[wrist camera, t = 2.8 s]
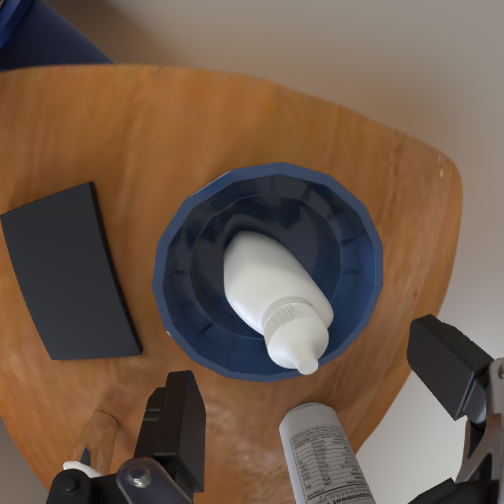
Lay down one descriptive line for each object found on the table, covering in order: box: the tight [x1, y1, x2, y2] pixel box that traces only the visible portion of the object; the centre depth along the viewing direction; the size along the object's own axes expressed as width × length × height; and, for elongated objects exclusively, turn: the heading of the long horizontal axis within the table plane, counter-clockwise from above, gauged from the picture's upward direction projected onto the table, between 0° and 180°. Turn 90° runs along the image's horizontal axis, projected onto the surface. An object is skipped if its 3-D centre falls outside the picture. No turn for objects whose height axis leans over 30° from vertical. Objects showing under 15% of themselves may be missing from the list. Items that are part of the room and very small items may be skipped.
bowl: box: [152, 162, 383, 383], centre depth 18 cm, size 13×13×6 cm
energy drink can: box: [279, 402, 376, 504], centre depth 19 cm, size 6×6×15 cm
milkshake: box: [63, 411, 119, 478], centre depth 20 cm, size 4×5×10 cm
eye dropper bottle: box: [224, 230, 334, 375], centre depth 15 cm, size 4×6×12 cm
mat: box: [0, 182, 143, 360], centre depth 20 cm, size 14×10×1 cm
